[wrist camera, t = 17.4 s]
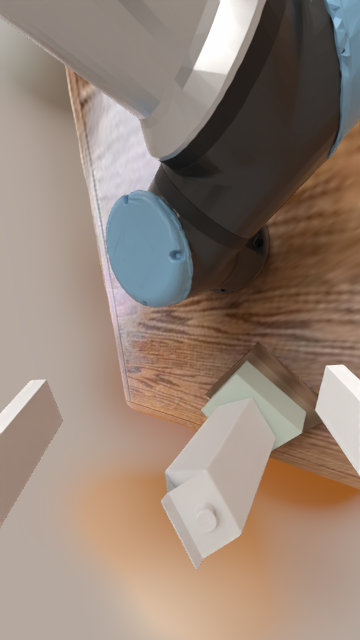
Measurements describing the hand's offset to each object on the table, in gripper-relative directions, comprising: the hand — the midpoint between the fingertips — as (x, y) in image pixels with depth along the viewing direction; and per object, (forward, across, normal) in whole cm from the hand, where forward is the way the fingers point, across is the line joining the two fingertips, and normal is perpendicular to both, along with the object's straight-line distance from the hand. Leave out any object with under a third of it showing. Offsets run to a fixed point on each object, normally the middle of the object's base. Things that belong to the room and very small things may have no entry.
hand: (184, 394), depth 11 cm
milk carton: (+18, +9, -23) cm, 31 cm away
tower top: (+23, +11, -24) cm, 35 cm away
